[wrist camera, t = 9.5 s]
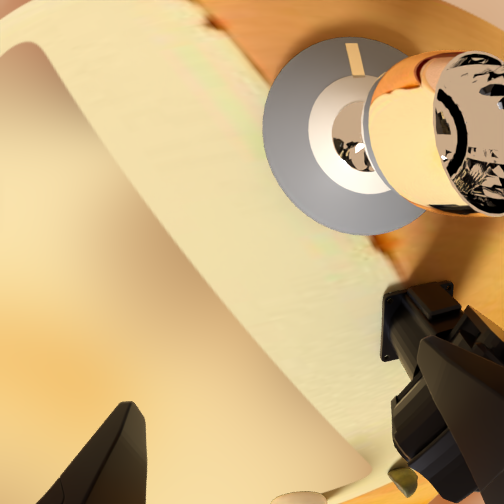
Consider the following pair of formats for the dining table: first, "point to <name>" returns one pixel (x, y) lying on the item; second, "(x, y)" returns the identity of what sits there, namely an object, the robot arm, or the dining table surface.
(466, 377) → the robot arm
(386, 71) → the wineglass
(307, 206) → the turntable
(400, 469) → the lime
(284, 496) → the cup
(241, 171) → the dining table surface
